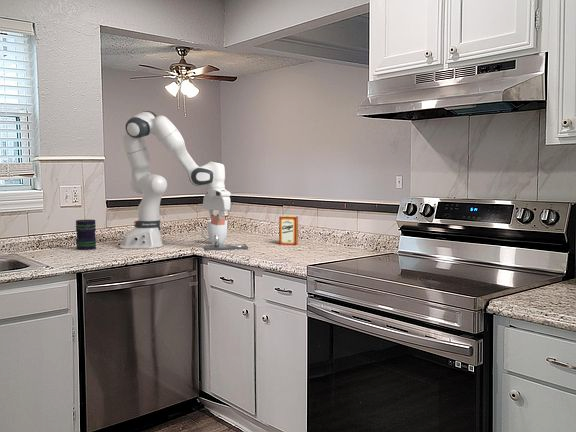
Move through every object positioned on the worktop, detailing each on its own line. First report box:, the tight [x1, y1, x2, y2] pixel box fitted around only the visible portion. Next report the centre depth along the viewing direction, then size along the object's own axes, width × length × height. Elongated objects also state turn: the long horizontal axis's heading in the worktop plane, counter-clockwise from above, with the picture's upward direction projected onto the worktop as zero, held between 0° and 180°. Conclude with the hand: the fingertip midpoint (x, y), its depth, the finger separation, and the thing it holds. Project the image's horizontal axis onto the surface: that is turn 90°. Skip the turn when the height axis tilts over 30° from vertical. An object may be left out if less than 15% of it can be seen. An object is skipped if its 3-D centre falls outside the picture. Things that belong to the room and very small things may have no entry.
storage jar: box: [75, 219, 97, 251], centre depth 295 cm, size 10×10×15 cm
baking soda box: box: [278, 214, 299, 246], centre depth 315 cm, size 10×6×16 cm
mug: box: [200, 219, 228, 245], centre depth 316 cm, size 15×11×13 cm
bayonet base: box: [204, 235, 249, 251], centre depth 299 cm, size 22×12×7 cm, turn 102°
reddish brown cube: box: [210, 213, 226, 225], centre depth 298 cm, size 5×5×5 cm
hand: (215, 218), depth 297 cm, fingers closed on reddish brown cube, 5 cm apart
